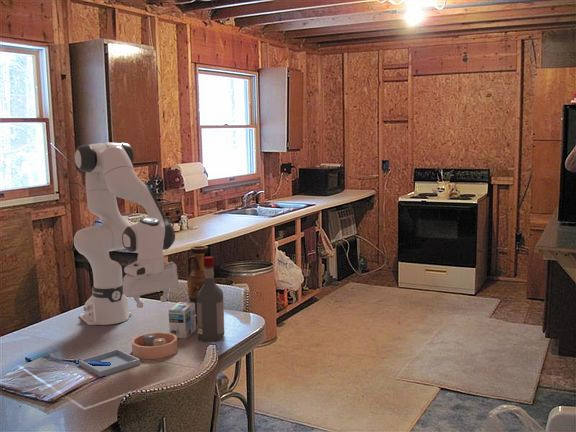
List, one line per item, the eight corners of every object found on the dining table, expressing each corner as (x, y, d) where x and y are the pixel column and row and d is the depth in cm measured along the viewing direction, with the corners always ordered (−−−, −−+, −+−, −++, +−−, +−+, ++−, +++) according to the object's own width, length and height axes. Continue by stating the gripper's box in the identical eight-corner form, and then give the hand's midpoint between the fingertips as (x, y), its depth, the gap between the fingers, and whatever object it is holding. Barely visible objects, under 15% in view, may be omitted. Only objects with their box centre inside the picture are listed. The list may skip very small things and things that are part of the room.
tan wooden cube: (151, 351, 204) (151, 340, 203) (161, 348, 206) (161, 337, 206) (158, 354, 201) (157, 343, 200) (168, 351, 204) (167, 340, 203)
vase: (218, 317, 244) (215, 244, 240) (212, 325, 234) (209, 249, 229) (192, 316, 245) (189, 244, 241) (184, 325, 235) (181, 249, 231)
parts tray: (79, 366, 194) (78, 360, 194) (118, 355, 204) (117, 348, 203) (100, 378, 184) (100, 371, 184) (140, 365, 194) (140, 359, 194)
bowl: (124, 352, 206) (123, 340, 205) (161, 341, 216) (160, 329, 216) (148, 363, 195) (147, 350, 195) (186, 351, 206) (185, 339, 205)
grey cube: (141, 347, 208) (141, 336, 207) (151, 344, 211) (151, 333, 210) (148, 350, 205) (147, 338, 204) (158, 347, 208) (157, 336, 207)
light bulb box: (186, 338, 219) (185, 310, 217) (169, 338, 220) (167, 309, 219) (196, 329, 229) (195, 302, 228) (179, 328, 231) (178, 301, 229)
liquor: (224, 333, 224) (222, 254, 220) (223, 342, 215) (220, 259, 211) (200, 334, 224) (197, 255, 219) (197, 342, 215) (194, 260, 210)
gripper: (171, 259, 215) (172, 296, 217) (119, 268, 201) (121, 308, 203) (181, 262, 211) (182, 300, 213) (129, 272, 196) (130, 313, 198)
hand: (151, 304), depth 208 cm, fingers open, 8 cm apart
